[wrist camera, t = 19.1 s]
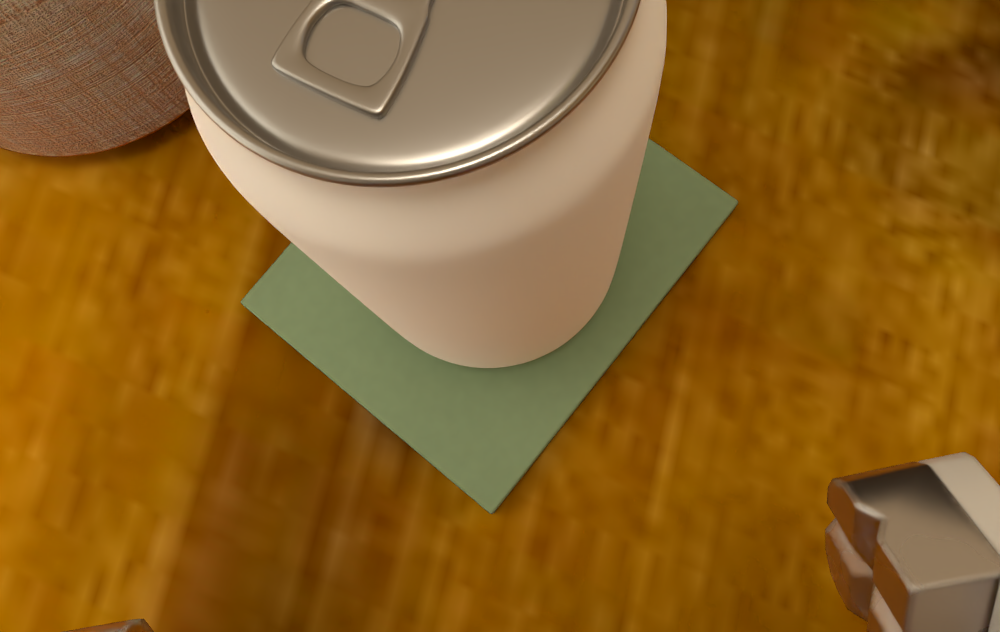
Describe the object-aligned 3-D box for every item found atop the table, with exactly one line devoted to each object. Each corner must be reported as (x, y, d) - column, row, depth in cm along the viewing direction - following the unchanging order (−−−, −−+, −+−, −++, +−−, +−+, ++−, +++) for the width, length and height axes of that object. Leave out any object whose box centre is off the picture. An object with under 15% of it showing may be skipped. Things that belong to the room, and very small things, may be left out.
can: (661, 191, 21) (788, -187, 9) (546, 417, 20) (518, 330, 8) (440, 91, 22) (293, -367, 10) (322, 301, 21) (5, 73, 9)
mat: (493, 513, 20) (491, 515, 19) (246, 305, 21) (238, 301, 21) (735, 207, 21) (739, 200, 20) (483, 29, 22) (481, 20, 22)
